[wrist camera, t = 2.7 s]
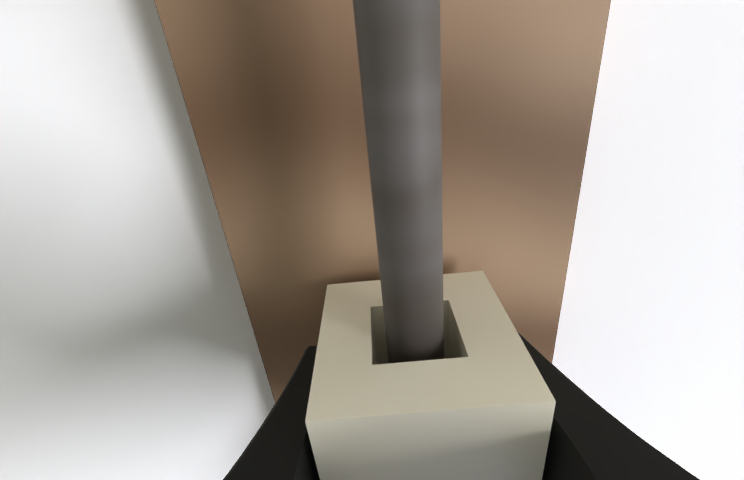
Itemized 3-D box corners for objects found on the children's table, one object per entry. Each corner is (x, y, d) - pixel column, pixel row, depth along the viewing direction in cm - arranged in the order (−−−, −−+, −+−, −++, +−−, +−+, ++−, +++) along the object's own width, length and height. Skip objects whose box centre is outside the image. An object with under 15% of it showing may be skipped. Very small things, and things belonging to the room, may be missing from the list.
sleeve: (477, 395, 11) (529, 549, 8) (348, 405, 12) (341, 563, 8) (482, 270, 9) (555, 401, 6) (327, 284, 10) (304, 421, 6)
